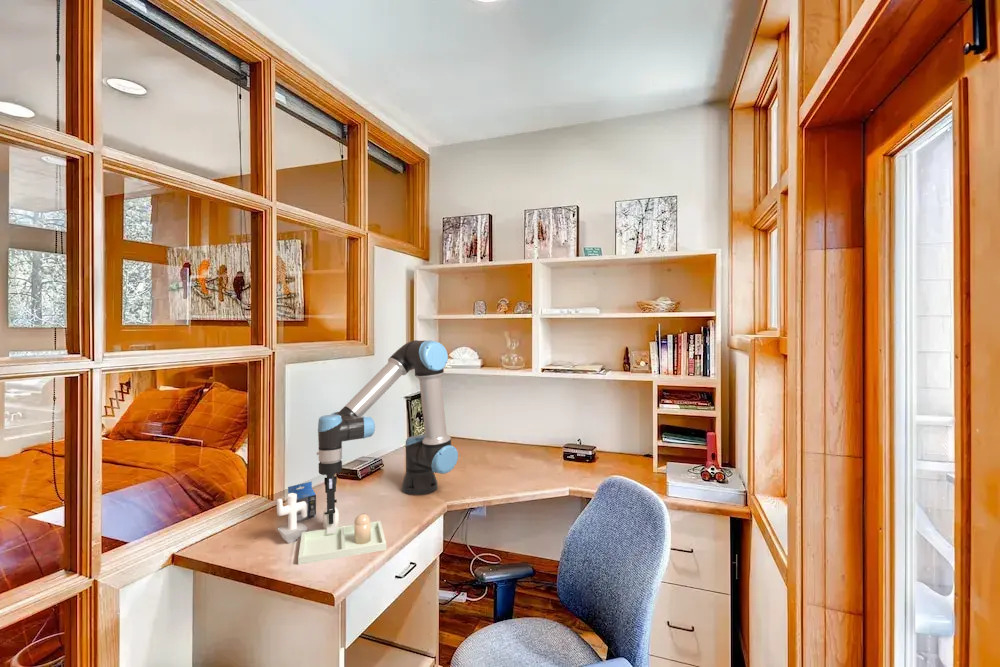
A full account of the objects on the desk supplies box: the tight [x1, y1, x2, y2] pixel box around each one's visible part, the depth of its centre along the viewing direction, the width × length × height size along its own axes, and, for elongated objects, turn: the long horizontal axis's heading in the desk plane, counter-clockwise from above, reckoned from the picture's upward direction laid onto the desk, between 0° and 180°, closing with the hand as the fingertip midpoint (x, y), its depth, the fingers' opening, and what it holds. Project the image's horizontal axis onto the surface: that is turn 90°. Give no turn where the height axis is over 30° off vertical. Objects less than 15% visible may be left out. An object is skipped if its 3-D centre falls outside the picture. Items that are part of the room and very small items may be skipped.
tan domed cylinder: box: [353, 513, 371, 544], centre depth 148 cm, size 5×5×8 cm
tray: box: [297, 520, 387, 566], centre depth 146 cm, size 25×18×3 cm
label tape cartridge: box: [287, 481, 317, 522], centre depth 169 cm, size 9×4×12 cm, turn 135°
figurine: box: [276, 493, 308, 544], centre depth 152 cm, size 7×9×15 cm
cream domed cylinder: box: [322, 506, 340, 529], centre depth 158 cm, size 5×5×8 cm
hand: (331, 527), depth 156 cm, fingers open, 9 cm apart
